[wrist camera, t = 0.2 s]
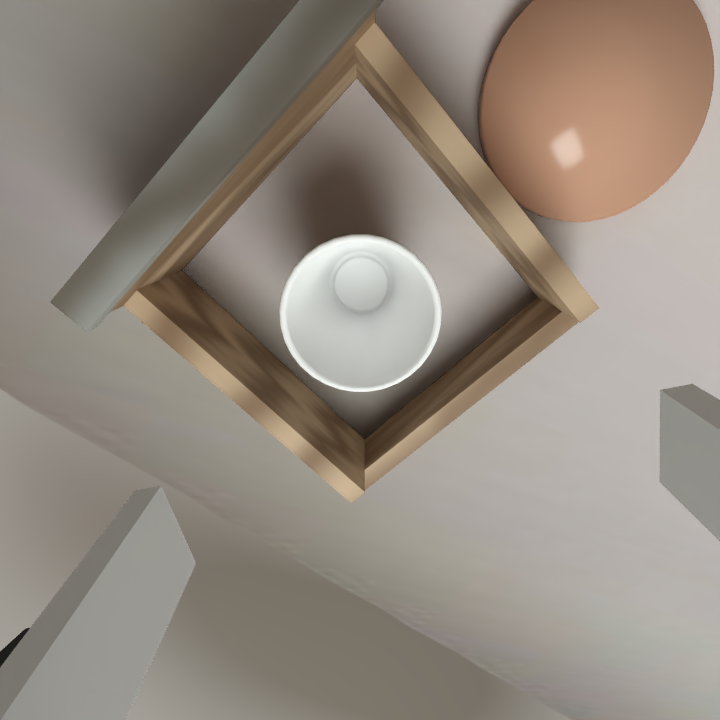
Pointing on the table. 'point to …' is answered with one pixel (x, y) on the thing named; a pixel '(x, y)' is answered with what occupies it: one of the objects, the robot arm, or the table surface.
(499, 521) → the table surface
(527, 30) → the saucer
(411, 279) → the cup
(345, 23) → the frame
